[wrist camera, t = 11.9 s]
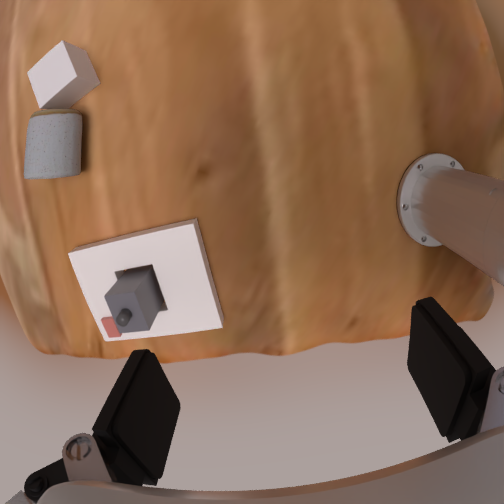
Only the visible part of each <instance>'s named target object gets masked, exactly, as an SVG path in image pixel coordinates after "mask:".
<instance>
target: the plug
mask: <svg viewBox="0 0 504 504" xmlns="http://www.w3.org/2000/svg"><path fill="white" fill-rule="evenodd" d="M104 298H105V300H106V302H107V305H108V307H109V310H110V312H111V314H112V317H113V319H114V321H115V324H116V326H117V328H118V330H119V333H129V332H140V331H149V330H150V328H151V326H152V324H153V322H154V320H155V318H156V316H157V314H158V312H159V310H160V308H161V306H162V304H163V302H164V297H163V294H162V291H161V288H160V285H159V283H158V280H157V277H156V274H155V271H154V268H153V265H152V264H150V265H145V266H140V267H135V268H130V269H127V270H126V271H125V272H124V273H123V274H122V276H121V277H120V278H119V279H118V280H117V281H116V283H115V284H114V285H113V286H112V287H111V288H110V290H109V291H108V292H107V293H106V294H105V296H104Z"/></svg>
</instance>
